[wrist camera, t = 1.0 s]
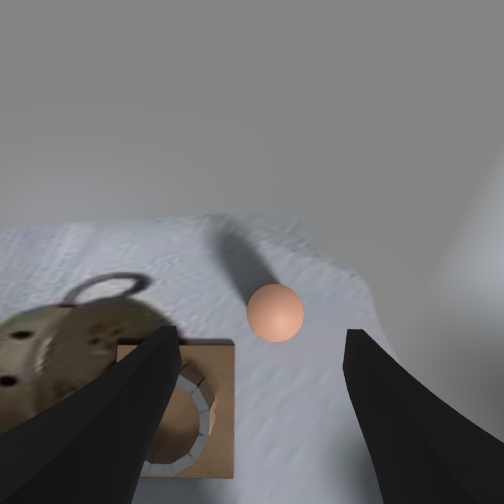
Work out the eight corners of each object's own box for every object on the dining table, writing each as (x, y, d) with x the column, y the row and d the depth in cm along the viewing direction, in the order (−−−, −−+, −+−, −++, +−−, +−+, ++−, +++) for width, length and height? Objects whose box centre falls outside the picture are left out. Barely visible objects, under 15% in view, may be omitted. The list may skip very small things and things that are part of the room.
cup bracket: (233, 474, 23) (229, 501, 20) (112, 471, 24) (89, 498, 20) (234, 344, 25) (231, 351, 22) (121, 344, 25) (101, 351, 22)
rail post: (292, 328, 25) (304, 342, 18) (250, 328, 25) (246, 341, 18) (291, 286, 26) (302, 283, 19) (250, 286, 26) (246, 284, 19)
